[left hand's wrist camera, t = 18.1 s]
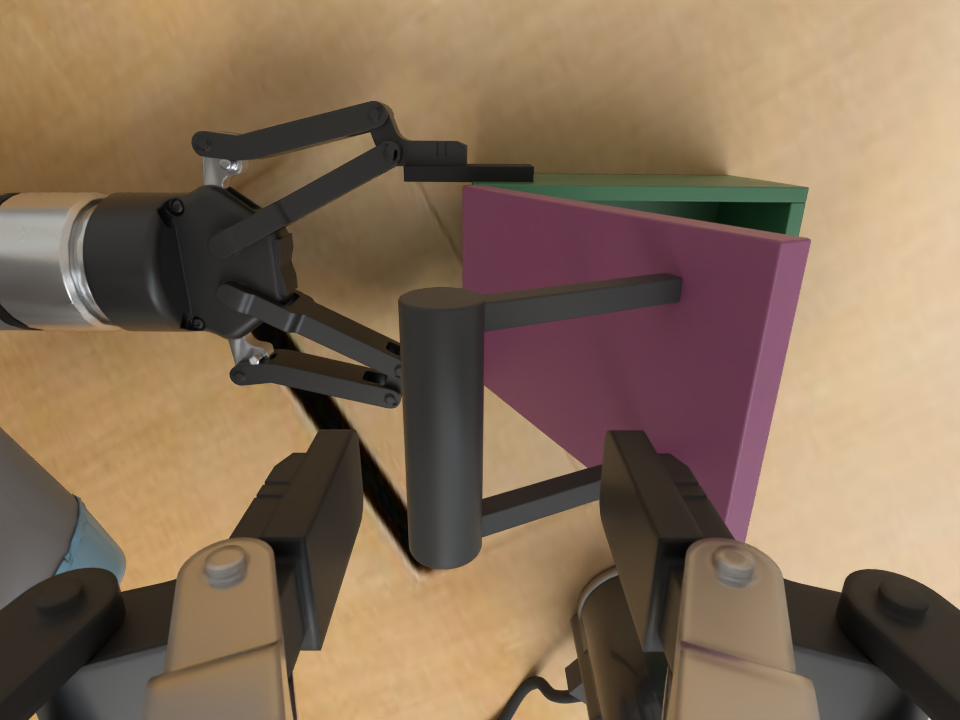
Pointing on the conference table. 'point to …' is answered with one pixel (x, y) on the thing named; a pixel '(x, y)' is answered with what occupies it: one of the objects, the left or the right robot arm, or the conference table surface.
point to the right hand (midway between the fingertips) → (527, 265)
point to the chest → (681, 197)
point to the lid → (591, 356)
